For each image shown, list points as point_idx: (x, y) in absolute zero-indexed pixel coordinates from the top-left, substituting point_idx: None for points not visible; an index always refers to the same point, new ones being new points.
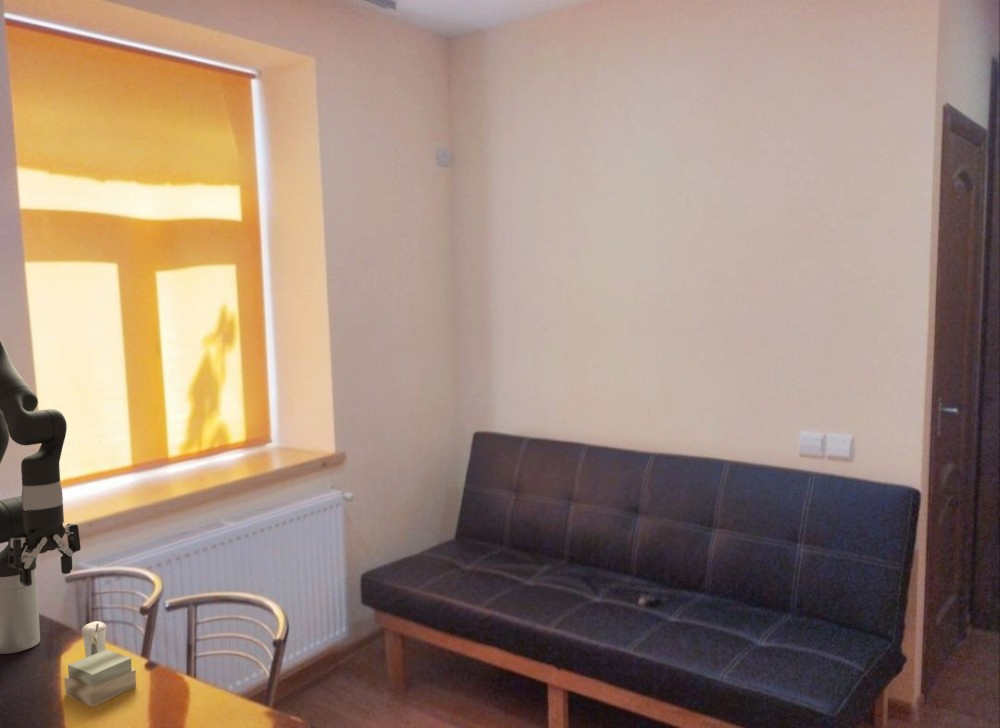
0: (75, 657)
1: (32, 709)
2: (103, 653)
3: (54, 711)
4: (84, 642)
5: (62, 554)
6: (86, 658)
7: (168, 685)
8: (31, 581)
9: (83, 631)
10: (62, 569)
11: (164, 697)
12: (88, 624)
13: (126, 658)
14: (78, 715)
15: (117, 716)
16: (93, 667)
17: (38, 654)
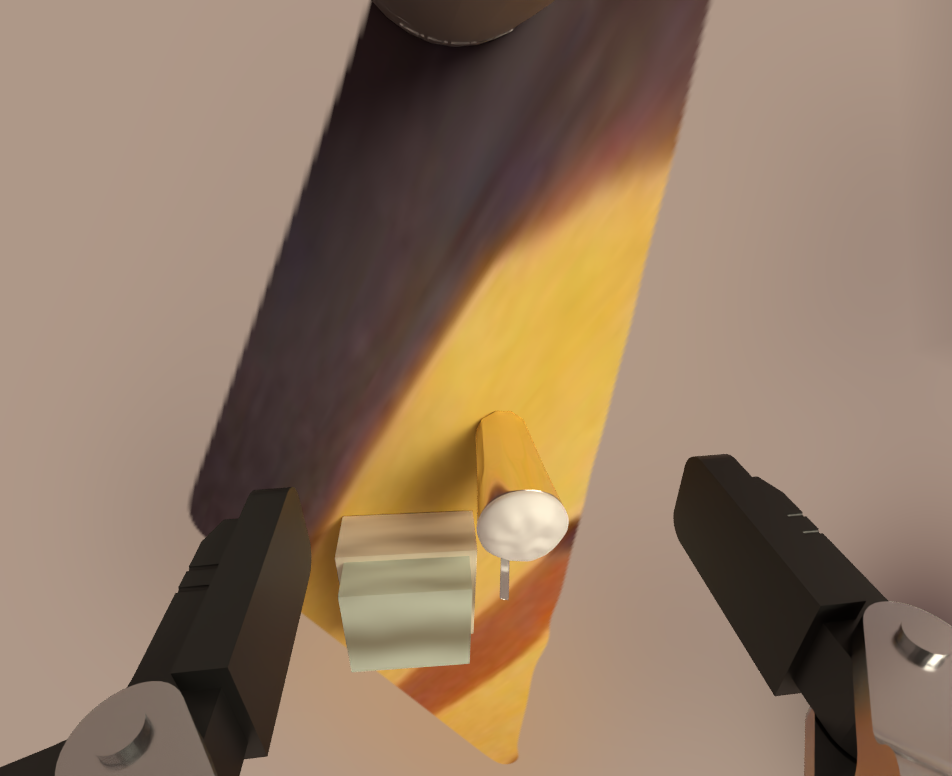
0: (509, 323)
1: None
2: (447, 604)
3: None
4: (477, 489)
5: (844, 655)
6: (397, 598)
7: (510, 626)
8: (302, 595)
9: (477, 528)
10: (706, 492)
11: None
12: (511, 532)
13: (461, 659)
14: (314, 605)
15: None
16: (375, 648)
17: (453, 156)
